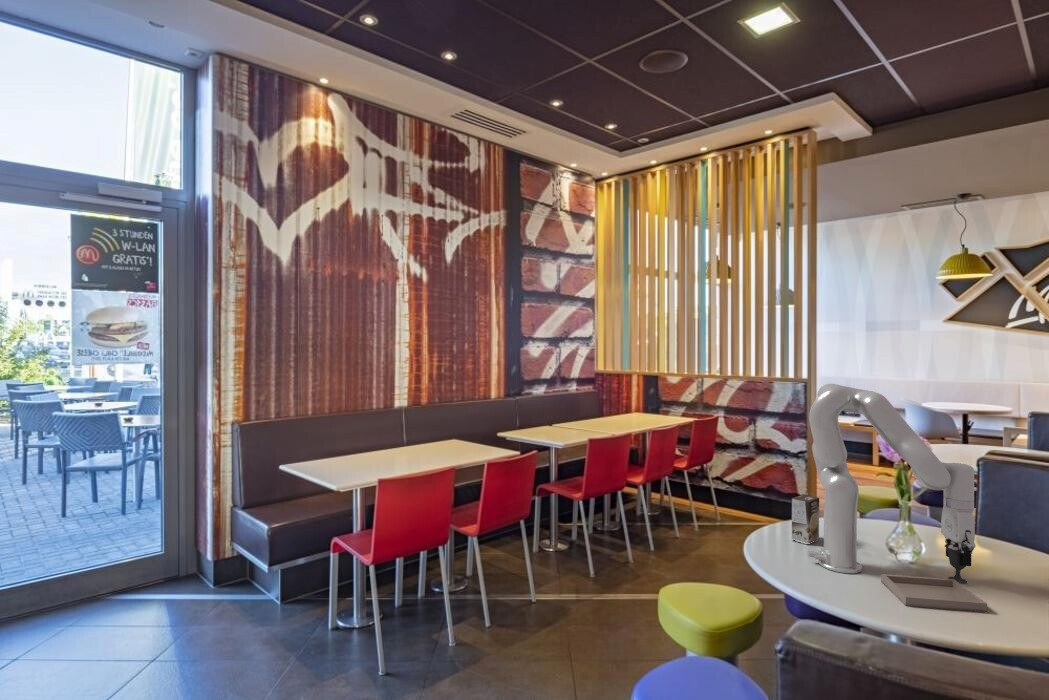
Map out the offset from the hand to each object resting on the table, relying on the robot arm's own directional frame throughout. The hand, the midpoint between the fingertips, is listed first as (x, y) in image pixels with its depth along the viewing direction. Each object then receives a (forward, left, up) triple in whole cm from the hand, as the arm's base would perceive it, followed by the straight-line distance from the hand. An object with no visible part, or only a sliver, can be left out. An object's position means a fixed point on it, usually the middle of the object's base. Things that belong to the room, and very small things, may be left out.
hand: (958, 560), depth 173 cm
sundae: (0, 0, -6) cm, 6 cm away
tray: (-14, -14, -6) cm, 21 cm away
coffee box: (-36, +29, -6) cm, 47 cm away
